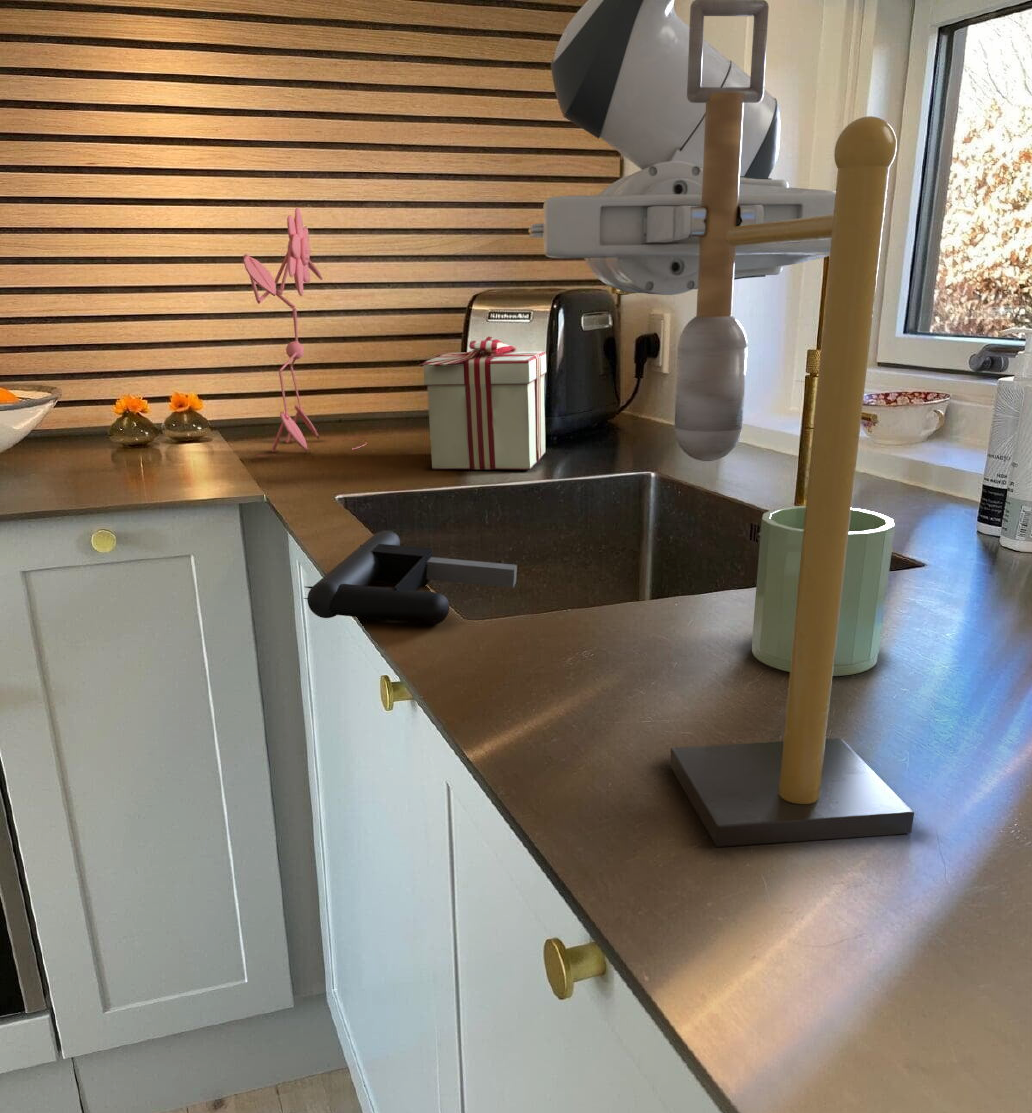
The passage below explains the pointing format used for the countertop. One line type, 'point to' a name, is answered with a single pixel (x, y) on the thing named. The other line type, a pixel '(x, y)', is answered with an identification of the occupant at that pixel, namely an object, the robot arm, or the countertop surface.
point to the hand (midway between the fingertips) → (723, 220)
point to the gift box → (486, 407)
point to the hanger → (816, 552)
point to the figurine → (300, 270)
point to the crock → (859, 589)
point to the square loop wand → (717, 252)
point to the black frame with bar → (398, 582)
